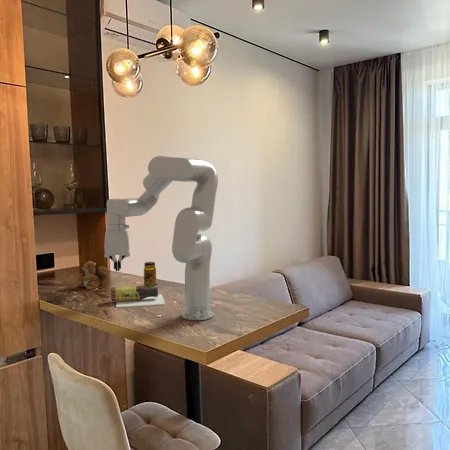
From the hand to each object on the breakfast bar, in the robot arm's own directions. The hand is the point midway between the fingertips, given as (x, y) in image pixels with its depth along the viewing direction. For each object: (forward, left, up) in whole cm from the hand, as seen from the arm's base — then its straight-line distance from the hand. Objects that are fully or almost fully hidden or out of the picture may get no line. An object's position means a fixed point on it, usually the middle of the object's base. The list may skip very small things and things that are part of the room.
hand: (117, 270), depth 181 cm
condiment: (+29, -15, -14) cm, 36 cm away
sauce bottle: (+1, +3, -10) cm, 11 cm away
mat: (0, -9, -14) cm, 17 cm away
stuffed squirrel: (+34, +12, -14) cm, 39 cm away
